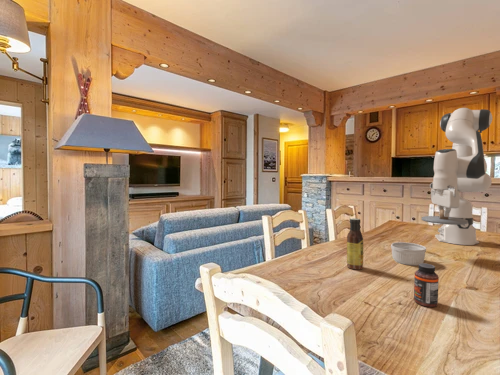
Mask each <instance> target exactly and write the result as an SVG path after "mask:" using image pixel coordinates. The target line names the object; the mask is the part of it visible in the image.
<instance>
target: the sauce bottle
mask: <svg viewBox="0 0 500 375" xmlns="http://www.w3.org/2000/svg"><path fill="white" fill-rule="evenodd" d="M346 239H347V240H346V241H347V242H346V263H347V268H348V269H351V270H362V269H363V268H364V267H363V266H364V236H363V234H362V231H361V219H360V218H349V231H348V233H347V235H346Z"/></svg>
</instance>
